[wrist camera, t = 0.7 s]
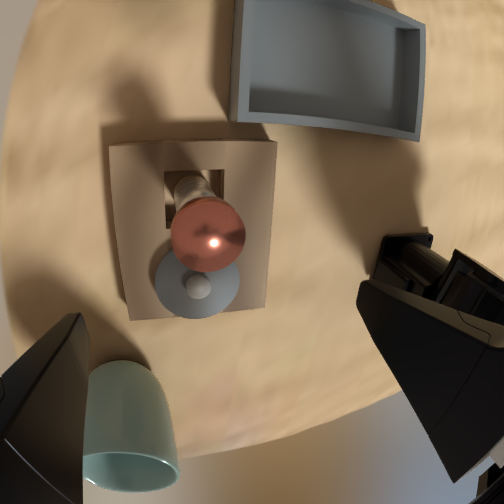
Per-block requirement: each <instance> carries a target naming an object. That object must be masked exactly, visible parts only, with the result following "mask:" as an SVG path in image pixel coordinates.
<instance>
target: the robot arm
mask: <svg viewBox="0 0 504 504" xmlns="http://www.w3.org/2000/svg"><path fill="white" fill-rule="evenodd" d="M388 240H389V241H388ZM387 241H388V242H387ZM432 241H433V235H432V234H430V233H416V234H399V235H386V236H385V237H384V238H383V240H382V244H381V249H380V253H379V257H378V262H377V266H376V270H375V274H374V278H373V279H370V280H364V281H362V282H361V283H360V287H359V291H358V295H357V300H356V306H357V309H358V311H359V313H360V315H361V317H362V319H363V321H364V323H365V325H366V327H367V329H368V331H369V333H370V335H371V337H372V339H373V341H374V343H375V345H376V347H377V348H378V350H379V351H380V353H381V355H382V356H383V358H384V360H385V361H386V363H387V365H388V366H389V368H390V370H391V371H392V373H393V375H394V376H395V378H396V380H397V381H398V383H399V385H400V387H401V388H402V390H403V392H404V393H405V395H406V397H407V399H408V400H409V402H410V404H411V405H412V407H413V409H414V411H415V413H416V414H417V416H418V418H419V420H420V422H421V423H422V425H423V427H424V429H425V431H426V432H427V434H428V435H429V438H430V440H431V442H432V444H433V446H434V448H435V450H436V451H437V453H438V455H439V457H440V459H441V461H442V463H443V464H444V467H445V469H446V471H447V473H448V475H449V476H450V479H451V480H452V482H453V483H456V482H457V481H458V480H459V479H461V478H462V477H464V476H465V475H466V474H468V473H469V472H470V471H472V470H473V469H474V468H475V467H477V466H478V465H479V464H480V463H482V462H483V461H484V460H485V459H486V458H487V457H489V456H491V457H492V459H493V460H494V461H495V463H494V464H493V465H492V466H491V467H490V468H489V469H488V470H486V471H485V472H484V473H483V474H482V475H481V476H480V477H479V482H478V489H477V495H476V498H475V499H474V500H473V501H472V502H470V503H469V504H504V280H503V279H502V278H501V277H499V276H498V275H497V274H496V273H494V272H493V271H491V270H490V269H488V268H487V267H485V266H484V265H482V264H481V263H479V262H478V261H476V260H474V259H473V258H471V257H469V256H467V255H466V254H464V253H462V252H460V251H459V250H457V249H455V250H454V252H453V254H452V255H453V256H452V258H451V260H450V262H449V261H448V260H446V259H445V258H443V257H442V256H440V255H439V254H437V253H436V252H434V251H433V250H431V245H432ZM89 343H90V340H89V334H88V331H87V328H86V325H85V321H84V318H83V316H82V314H81V313H80V312H77V313H68V314H67V315H66V316H64V317H63V318H62V319H61V320H60V321H59V322H58V323H57V324H56V325H54V326H53V327H52V328H51V329H50V330H49V331H48V332H47V333H46V334H44V335H43V336H42V337H41V338H40V339H39V340H38V341H37V342H36V343H35V344H34V345H33V346H31V347H30V348H29V349H28V350H27V351H26V352H25V353H24V354H23V355H22V356H21V357H20V358H19V359H18V360H17V361H16V362H15V363H14V364H13V365H12V366H10V368H8V369H7V371H5V372H4V374H2V376H1V377H2V378H1V377H0V504H83V446H84V429H85V415H86V404H87V395H88V384H89Z"/></svg>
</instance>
